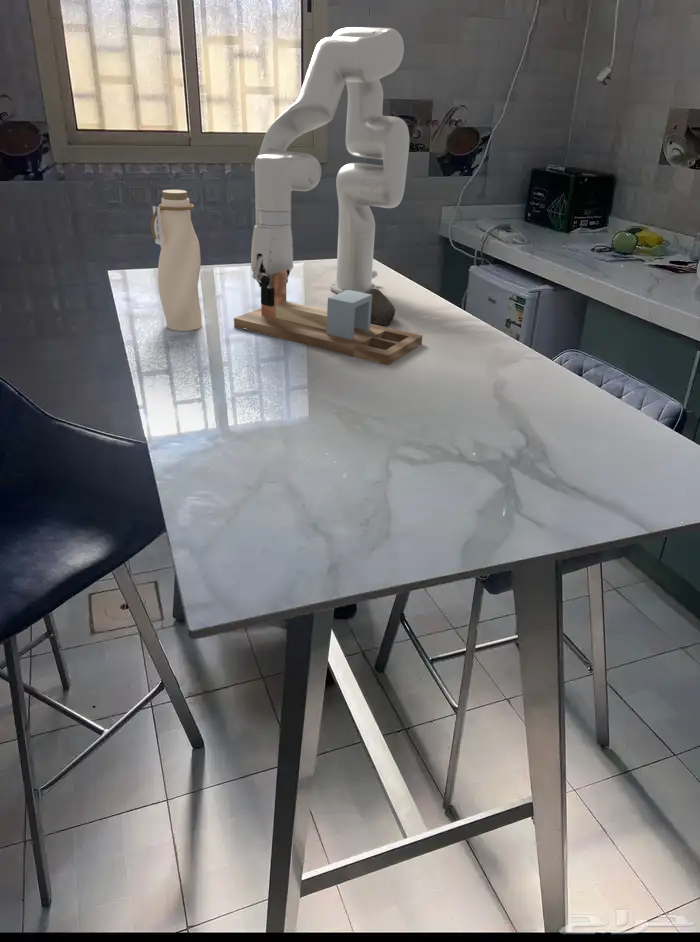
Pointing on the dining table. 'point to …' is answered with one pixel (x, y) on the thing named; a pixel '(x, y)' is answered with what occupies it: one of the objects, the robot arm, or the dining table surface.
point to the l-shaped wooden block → (292, 306)
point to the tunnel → (348, 313)
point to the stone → (380, 308)
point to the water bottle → (177, 261)
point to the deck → (336, 337)
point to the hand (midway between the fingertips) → (273, 302)
